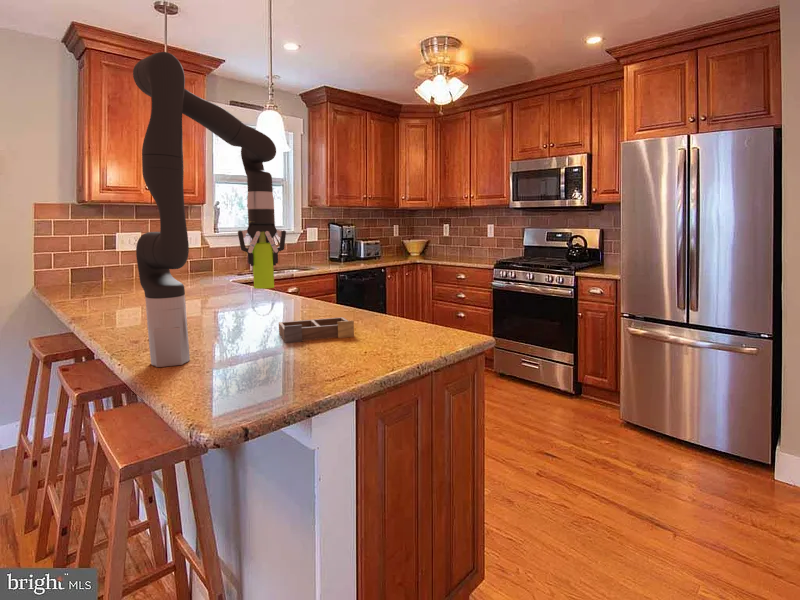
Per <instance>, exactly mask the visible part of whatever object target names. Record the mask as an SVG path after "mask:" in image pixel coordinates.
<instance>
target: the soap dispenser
mask: <svg viewBox="0 0 800 600" xmlns="http://www.w3.org/2000/svg"><path fill="white" fill-rule="evenodd" d="M259 239H260V241H259V243H256V245H255V246H254V249H253V251H252V253H253V266H252V269H253V270H252V273H253V274H252V275H253V288H254V289H256V290H266V289H274V288H275V275H274V274H275V273H274V272H275V270H274V265H273V248H272V246H271V244H270V243H266V237H265V232H260V236H259Z"/></svg>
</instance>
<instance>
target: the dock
mask: <svg viewBox="0 0 800 600" xmlns="http://www.w3.org/2000/svg"><path fill="white" fill-rule="evenodd" d="M278 335H279V336H280V338H281V339H282V341H284V343H285V344H289V343H299V342H303V341H311V340H313V341H315V340H323V339H333V338H335V339H336V338H337V339H345V338H354V337H355V320H348V319H347V318H346V317H343V316H341V317H330V318H317V319H304V320H303V319H302V320H291V321H279V322H278Z"/></svg>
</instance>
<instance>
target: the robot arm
mask: <svg viewBox="0 0 800 600" xmlns="http://www.w3.org/2000/svg"><path fill="white" fill-rule="evenodd" d="M132 70H133V71H132V77H133V81H134V83H135V85H136V86H137V88H138V89H139V90H140V91H141V92H142V93H143V94H145V95H146V96H148V97H150V99H151V112H150V116H149V117H150V119H149V121H148V125H147V127H146V131H145V134H144V138H143V140H142V141H143V142H142V148H141V165H142V166H141V167H142V176H143V180H144V183H145V186H146V187H147V189H148V191H149V193H150V195H151V197H152V198H153V200H154V202H155V204H156V206H157V209H158V213H159V222H160V223H159V224H160V225H159V226H160V229H159V230H160V231H149V232H148V231H147V232H145V233H143V234H142V235H141V236H140V237H139V238H138V241H137V243H136V249H135V252H136V254H135V256H136V262H137V263H136V264H137V270H138V271H137V272H138V278H139V283H140V286H141V288H142V290H143V292H144V298H145V312H146V322H147V333H148V334H147V335H148V347H149V356H150V357H149V358H150V364H151V365H152V366H154V367H155V368H161V367H162V368H163V367H172V366H182V365H184V364H186V363H188V362H190V360H191V359H190V358H191V357H190V344H189V331H188V318H187V305H186V304H187V303H186V291H185V290H186V289H185V285H184V283H182V282H181V281H179V280H177V279H176V278H175V277H173V275H172V274H171V271H170V270H178V269H181V268H183V267H184V266H185V265H186V263H187V261H188V258H189V253H190V252H189V251H190V249H189V248H190V246H189V244H190V243H189V237H188V236H189V235H188V228H187V220H186V212H185V209H186V208H185V193H184V189H185V188H184V176H185V175H184V171H185V170H184V168H185V167H184V150H183V147H184V146H183V143H184V142H183V138H184V137H183V135H184V134H183V115H184V116H187V117H188V118H189V119H191V120H193V121H195V122H196V123H198V124H199V125H201V126H203V127H204V128H205V129H207V130H209V131H210V132H211V133H213V134H214V135H215V136H217V137H218V138H220V139H221V140H223V141H224V142H225V143H227V144H228V145H230V146H232V147H240V148H241V149H240V156H241V161H242V164H243V168H244V173H245V174H246V178H247V179H246V181H247V182H246V183H247V197H246V198H247V204H246V207H247V222H248V226H247V229H244V230H238V231H237V237H238V241H239V248H240V250H241V251H242V252H246V255H247V263H248V265H250V267H253V253H252V251H253V249H254V246H255V245H256V243H259V241H260V239H259V236H260V232H265V237H266V243H270V244H271V246H272V248H273V266H277V264H279V253H280V252H281V251H284V250H285V245H286V244H285V243H286V238H287V237H286V235H287V231H286V230H284V229H277V228H276V224H275V223H276V222H275V220H276V218H275V217H276V216H275V200H274V199H275V198H274V192H273V177H272V174H271V172H269V171H265V168H264V167H265V166H264V163H267V162H270V161H272V160H273V159H274V158H276V157H275V156H276V154H277V148H276V147H277V146H276V145H275V142H274V141H273V140H272V139H271V138H270V137H269V136H268V135H266V134H265V133H263V132H261V131H259V130H258V129H256V128H254V127H252V126H249V125H247V124H245V123H244V122H242V121H241V120H240V119H238V118H237V117H236V116H234V115H233V114H232V113H230V111H228V110H227V109H225V108H223V107H222V106H219V105H218V104H216V103H214V102H211V101H209V100H207V99H204V98H202V97H200V96H197V94H196V95H195V93H192V92H190V91H189V89H188V90H187V89H186V88H185V85H186V76H185V71H184V68H183V66H182V64H181V62H180V61H179V59H178V58H177V57H176V56H175V55H173V54H172V53H171V52H168V51H167V52H166V51H159V52H156V53H153V54H150V55H149V56H146V57H144V58H142V59H141V60H139V61H138V62H137V63H136V64H135V65H134V67H133V69H132ZM247 234H248V236H249V237H250V238H251V240H250V243H249V246H248V247H246V243H245V239H244V238H246V236H247ZM276 234H277V236H278V238H279V244H278V246H277V245H276V243H275V241H274V239H273V238H274V237H275V236H276ZM151 365H150V366H151Z"/></svg>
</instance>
